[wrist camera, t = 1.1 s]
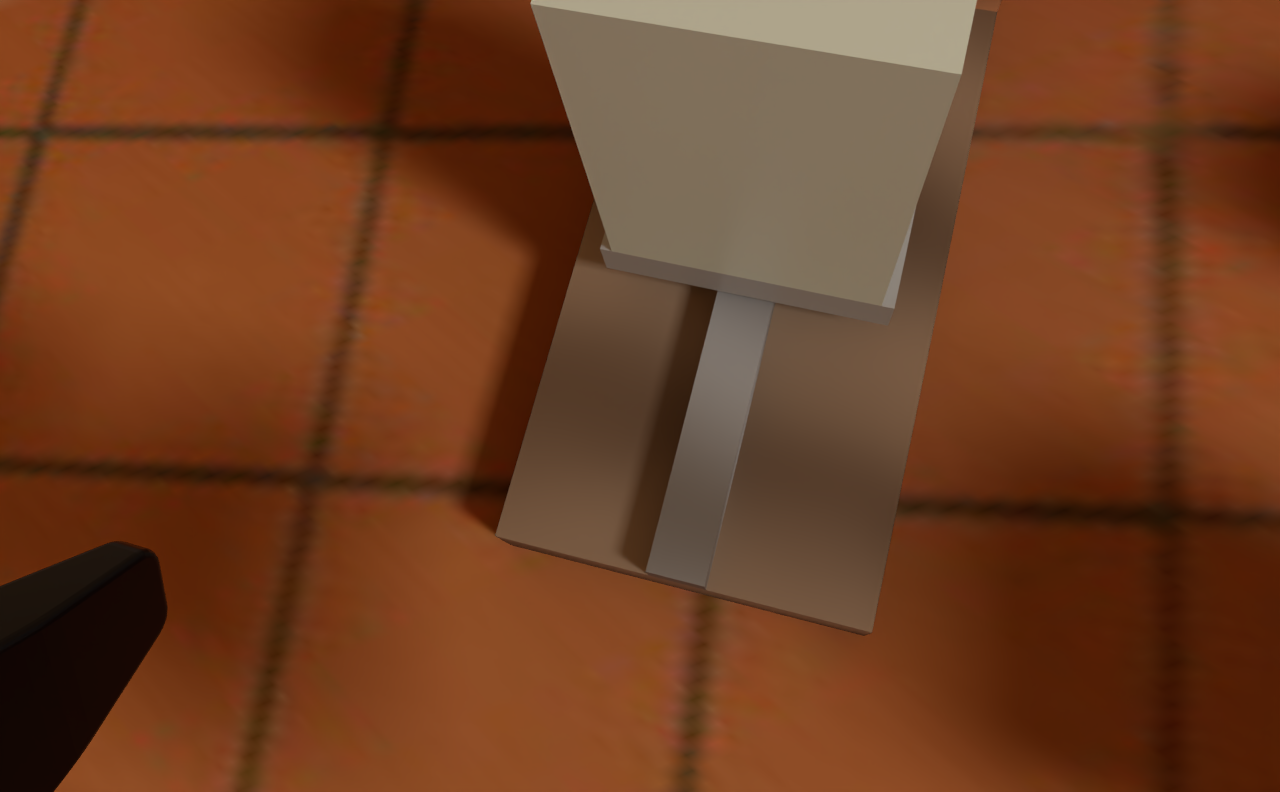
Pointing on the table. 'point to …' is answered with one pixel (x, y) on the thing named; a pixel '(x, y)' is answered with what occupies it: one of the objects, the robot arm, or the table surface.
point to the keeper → (759, 137)
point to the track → (738, 420)
